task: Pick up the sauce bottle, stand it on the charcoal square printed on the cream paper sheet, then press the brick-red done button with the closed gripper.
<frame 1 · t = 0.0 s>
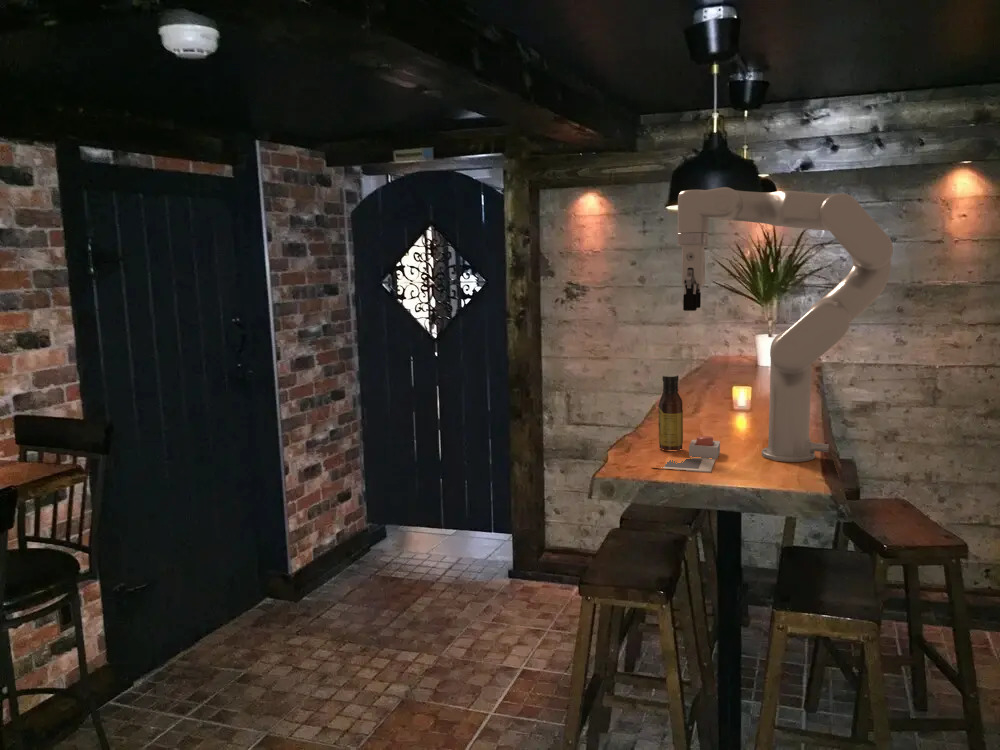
hand: (692, 309, 209), 37 cm above the table, tool pointing down, fingers open, 9 cm apart
done button: (704, 443, 209), point 3 cm above the table, slide at 0.0 cm
sauce bottle: (670, 450, 216), on the table
button housing: (704, 455, 210), on the table
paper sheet: (683, 464, 201), on the table
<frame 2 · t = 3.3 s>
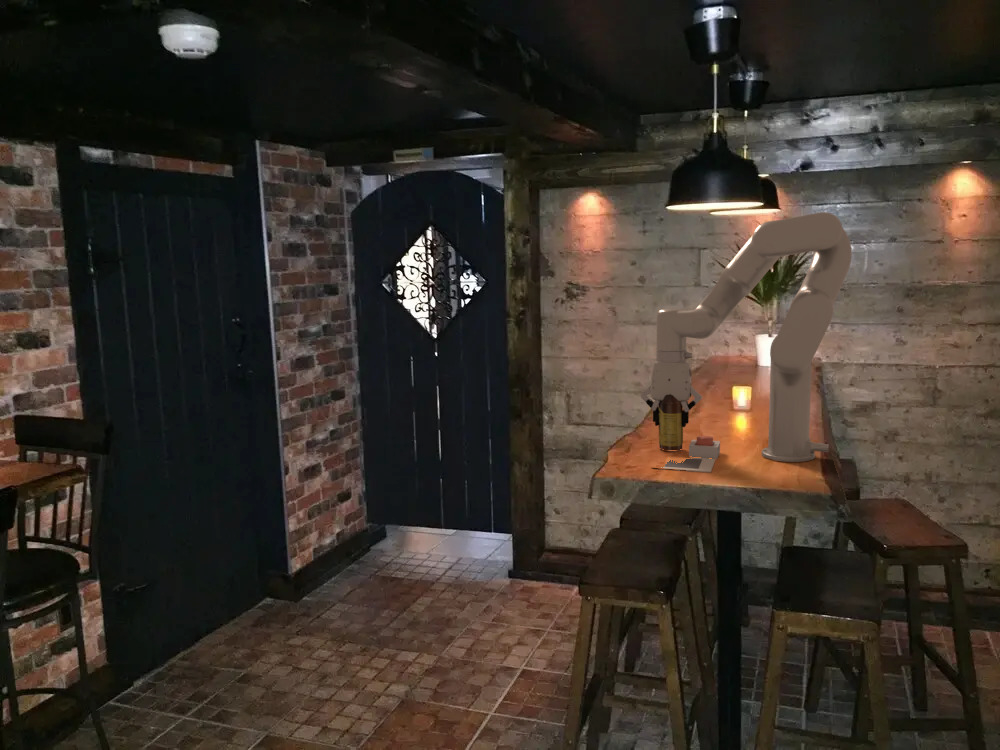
hand: (670, 424, 215), 7 cm above the table, tool pointing down, fingers closed on sauce bottle, 6 cm apart
sauce bottle: (670, 450, 216), on the table, touching gripper
everything else where it was.
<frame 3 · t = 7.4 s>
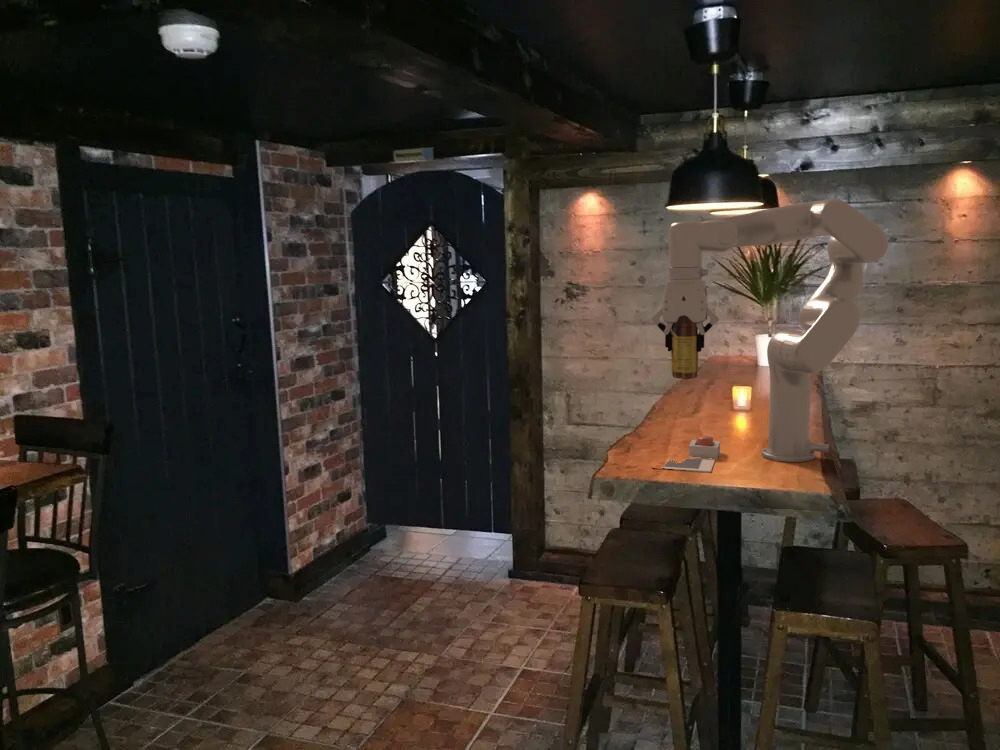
hand: (684, 350, 197), 28 cm above the table, tool pointing down, fingers closed on sauce bottle, 6 cm apart
sauce bottle: (684, 378, 198), point 21 cm above the table, touching gripper
everything else where it was.
when the fingers open (8 cm above the table, at t = 11.3 s): sauce bottle drops 1 cm, resting on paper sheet.
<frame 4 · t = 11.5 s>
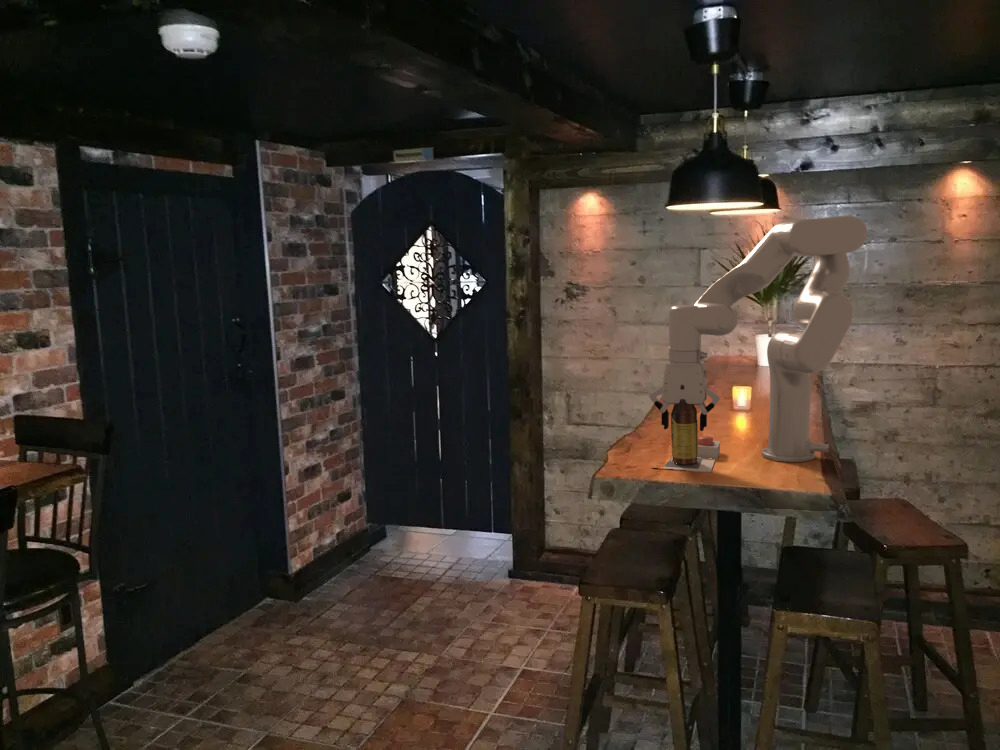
hand: (684, 428, 200), 9 cm above the table, tool pointing down, fingers open, 8 cm apart
sauce bottle: (684, 463, 201), resting on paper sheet
everything else where it was.
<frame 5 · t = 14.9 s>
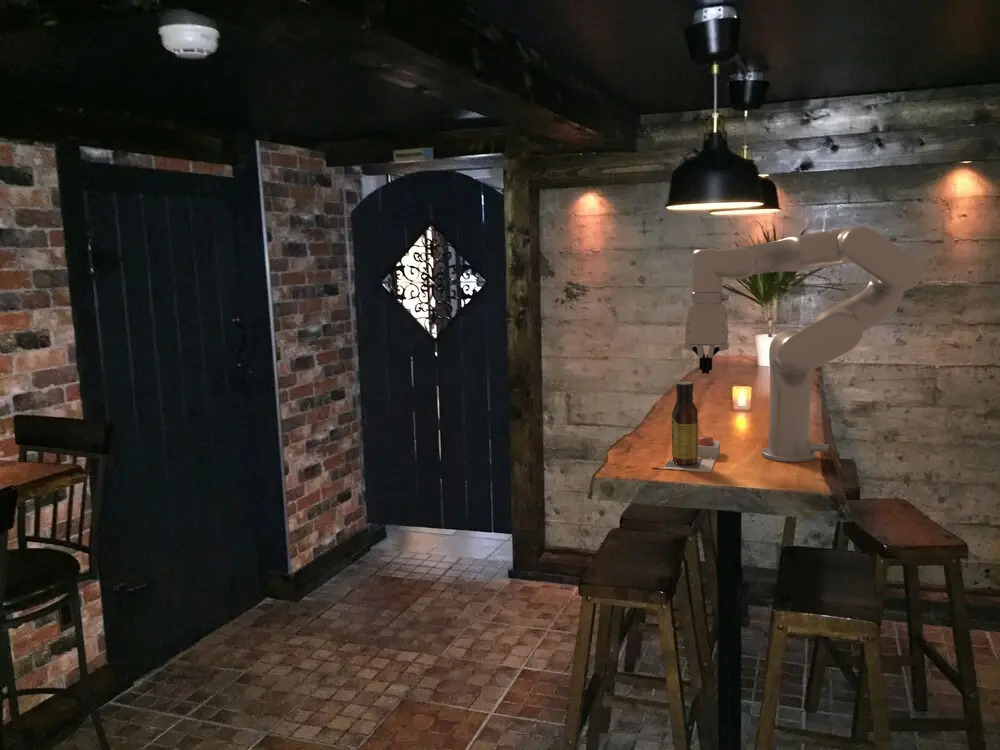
hand: (705, 372, 207), 21 cm above the table, tool pointing down, fingers closed
nothing on the table moved.
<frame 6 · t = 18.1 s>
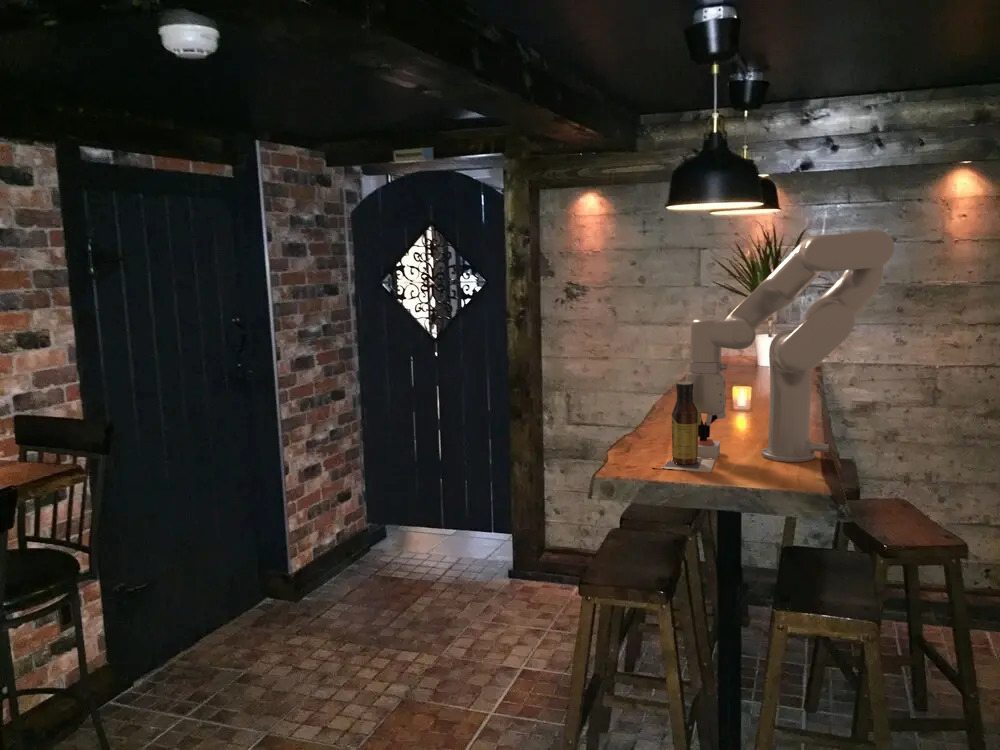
hand: (703, 439, 209), 4 cm above the table, tool pointing down, fingers closed
done button: (704, 445, 210), point 2 cm above the table, slide at 0.6 cm, touching gripper
everything else where it was.
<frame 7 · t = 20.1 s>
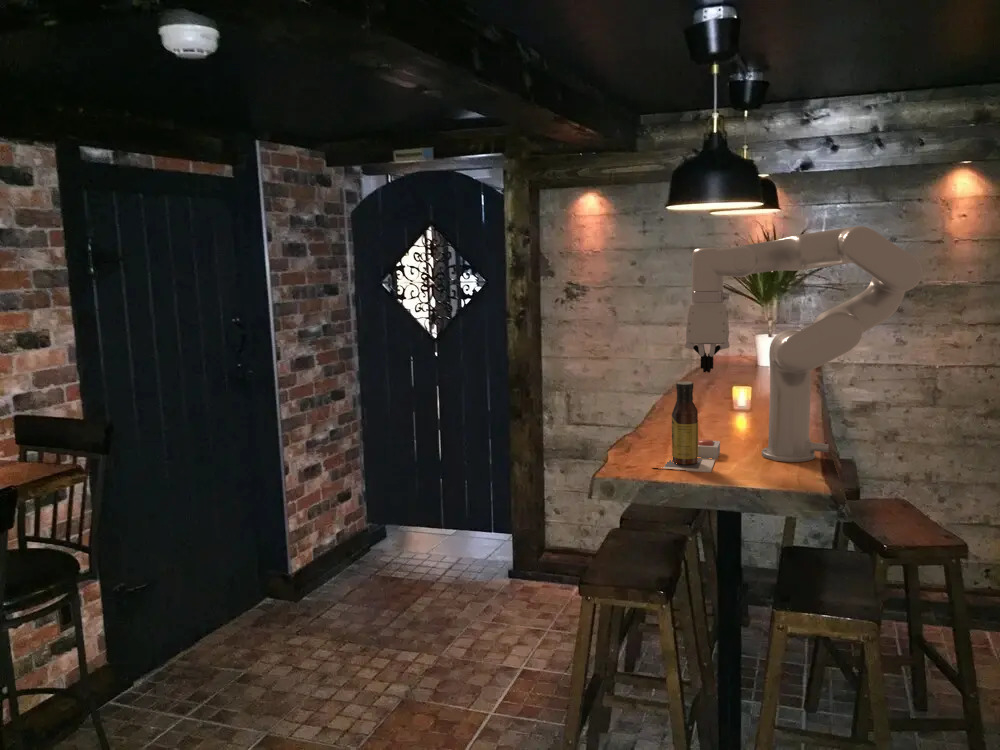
hand: (706, 371, 207), 21 cm above the table, tool pointing down, fingers closed
done button: (704, 446, 210), point 2 cm above the table, slide at 0.9 cm
everything else where it was.
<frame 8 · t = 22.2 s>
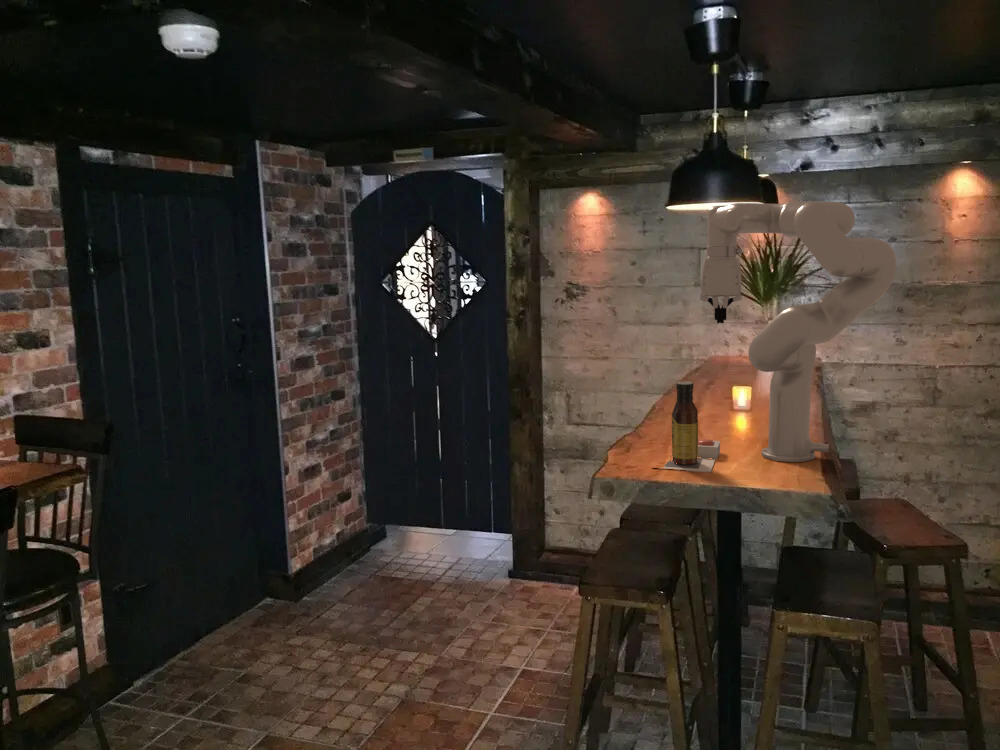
hand: (720, 322, 221), 32 cm above the table, tool pointing down, fingers closed
nothing on the table moved.
at the end: sauce bottle inside the target area on the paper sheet (0.3 cm from its centre), point 0.2 cm above the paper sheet's base; sauce bottle tilted 0°; done button slide at 0.9 cm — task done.
